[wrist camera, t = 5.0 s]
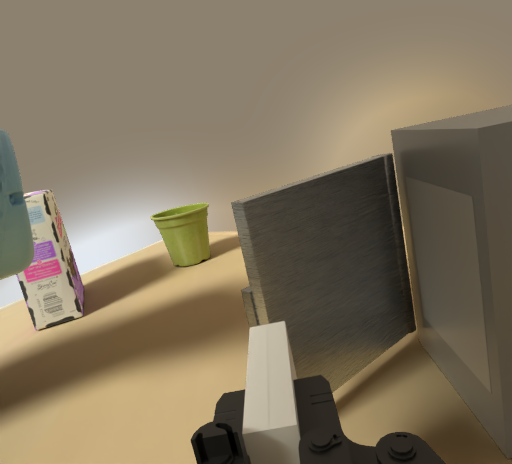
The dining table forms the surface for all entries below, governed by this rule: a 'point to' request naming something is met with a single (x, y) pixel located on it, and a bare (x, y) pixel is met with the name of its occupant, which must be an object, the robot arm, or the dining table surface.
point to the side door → (329, 267)
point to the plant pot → (185, 233)
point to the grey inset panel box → (463, 254)
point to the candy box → (50, 266)
